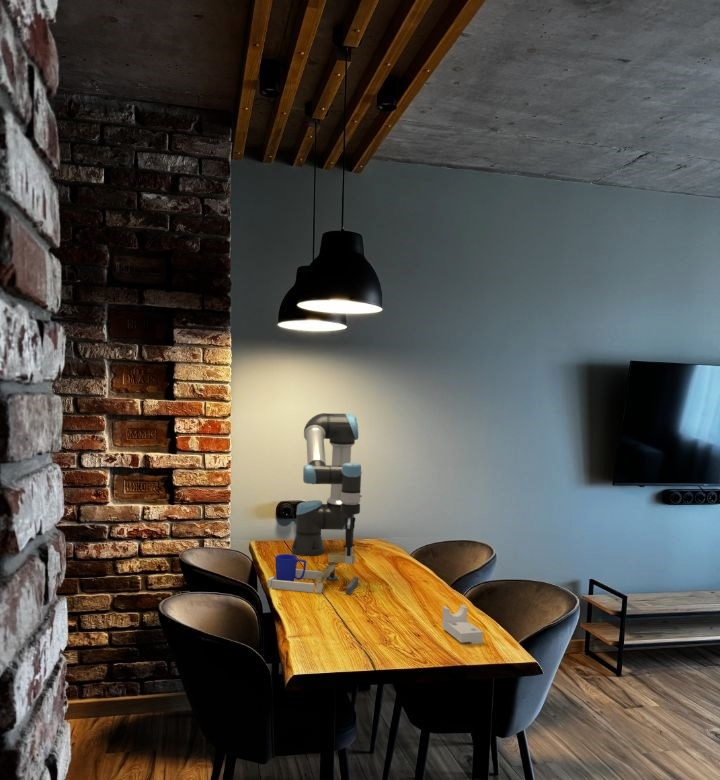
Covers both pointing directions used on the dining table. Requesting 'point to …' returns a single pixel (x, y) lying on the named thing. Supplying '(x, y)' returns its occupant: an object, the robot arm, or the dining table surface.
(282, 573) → the mug
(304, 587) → the beige rectangular bars
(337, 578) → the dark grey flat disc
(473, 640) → the bracket
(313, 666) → the dining table surface
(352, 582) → the kerb
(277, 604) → the dining table surface
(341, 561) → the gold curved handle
